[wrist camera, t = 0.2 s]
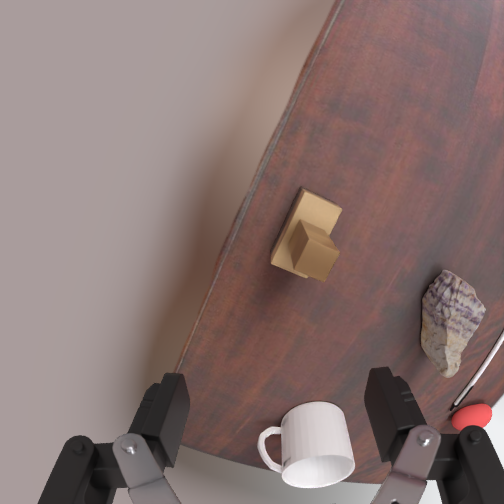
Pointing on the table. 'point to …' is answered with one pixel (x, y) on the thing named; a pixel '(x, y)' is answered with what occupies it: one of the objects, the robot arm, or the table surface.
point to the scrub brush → (307, 237)
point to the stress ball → (472, 416)
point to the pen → (478, 372)
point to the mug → (312, 446)
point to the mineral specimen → (449, 321)
